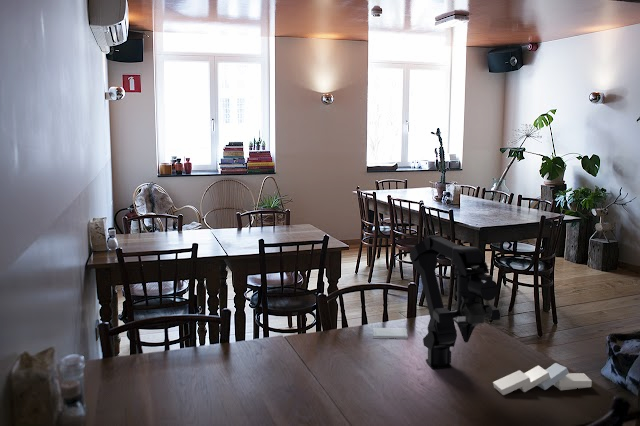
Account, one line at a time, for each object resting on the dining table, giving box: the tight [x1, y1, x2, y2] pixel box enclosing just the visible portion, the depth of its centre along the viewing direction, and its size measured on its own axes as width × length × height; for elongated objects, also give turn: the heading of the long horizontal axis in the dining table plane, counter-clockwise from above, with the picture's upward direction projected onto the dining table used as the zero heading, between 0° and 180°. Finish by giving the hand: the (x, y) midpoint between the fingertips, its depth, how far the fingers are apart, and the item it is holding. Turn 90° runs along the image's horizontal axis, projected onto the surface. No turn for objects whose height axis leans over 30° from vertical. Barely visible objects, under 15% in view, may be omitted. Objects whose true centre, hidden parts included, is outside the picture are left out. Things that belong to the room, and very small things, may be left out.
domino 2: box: [518, 365, 550, 393], centre depth 162 cm, size 2×5×9 cm
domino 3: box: [536, 362, 570, 391], centre depth 162 cm, size 2×5×9 cm
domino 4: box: [556, 372, 593, 388], centre depth 162 cm, size 2×5×9 cm
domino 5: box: [552, 383, 588, 391], centre depth 163 cm, size 2×5×9 cm
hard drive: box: [372, 327, 409, 340], centre depth 205 cm, size 2×8×12 cm
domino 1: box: [492, 369, 531, 396], centre depth 161 cm, size 2×5×9 cm
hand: (465, 342), depth 163 cm, fingers closed
